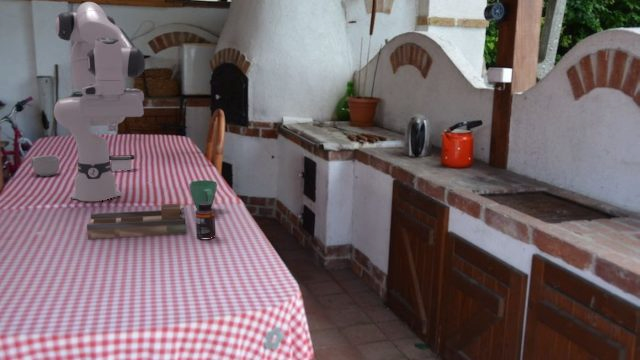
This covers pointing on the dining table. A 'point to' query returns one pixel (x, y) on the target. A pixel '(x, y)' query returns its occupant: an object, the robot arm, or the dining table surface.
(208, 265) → the dining table surface
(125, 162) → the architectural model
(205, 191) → the mug
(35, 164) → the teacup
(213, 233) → the supplement bottle
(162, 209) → the block
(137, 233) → the wooden compartment tray
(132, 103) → the robot arm
